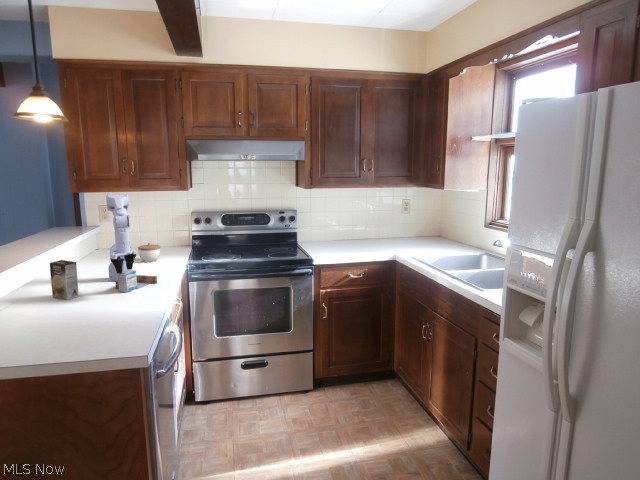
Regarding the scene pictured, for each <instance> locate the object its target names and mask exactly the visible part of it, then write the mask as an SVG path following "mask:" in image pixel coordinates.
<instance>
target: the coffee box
mask: <svg viewBox="0 0 640 480" xmlns="http://www.w3.org/2000/svg"><path fill="white" fill-rule="evenodd" d="M49 271H50V284H51V293H52V294H51V295H52V296H51V297H52V298H53V299H58V300H65V301H70V300H72V299H76V298H78V297H80V295H79V285H78V284H79V283H78V282H79V281H78V269H77V261H71V260H64V259H60V260H57V261H51V262H49Z"/></svg>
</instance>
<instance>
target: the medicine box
mask: <svg viewBox="0 0 640 480" xmlns="http://www.w3.org/2000/svg"><path fill="white" fill-rule="evenodd" d="M136 275H137V270H134V269H132V270H127V271H125V272H122V274H118V284H119V289H118V292H119V293H129V292H131V291H133V290H134V289H135V288H137V277H136ZM135 290H136V289H135Z"/></svg>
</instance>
